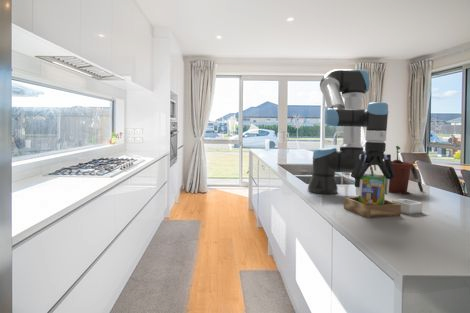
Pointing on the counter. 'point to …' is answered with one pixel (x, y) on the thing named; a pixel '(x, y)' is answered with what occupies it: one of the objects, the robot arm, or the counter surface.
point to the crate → (372, 208)
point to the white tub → (409, 206)
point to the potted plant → (402, 176)
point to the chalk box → (373, 189)
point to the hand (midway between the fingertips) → (372, 194)
